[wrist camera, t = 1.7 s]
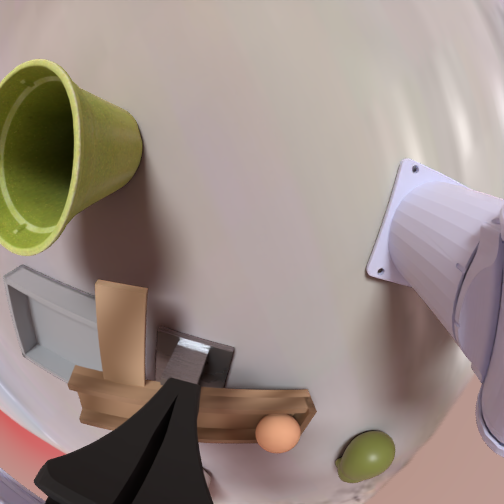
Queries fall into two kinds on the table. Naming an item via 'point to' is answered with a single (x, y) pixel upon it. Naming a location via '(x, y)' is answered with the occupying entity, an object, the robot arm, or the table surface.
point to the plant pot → (57, 153)
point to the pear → (366, 457)
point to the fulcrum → (191, 359)
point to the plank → (141, 391)
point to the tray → (53, 322)
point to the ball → (277, 433)
